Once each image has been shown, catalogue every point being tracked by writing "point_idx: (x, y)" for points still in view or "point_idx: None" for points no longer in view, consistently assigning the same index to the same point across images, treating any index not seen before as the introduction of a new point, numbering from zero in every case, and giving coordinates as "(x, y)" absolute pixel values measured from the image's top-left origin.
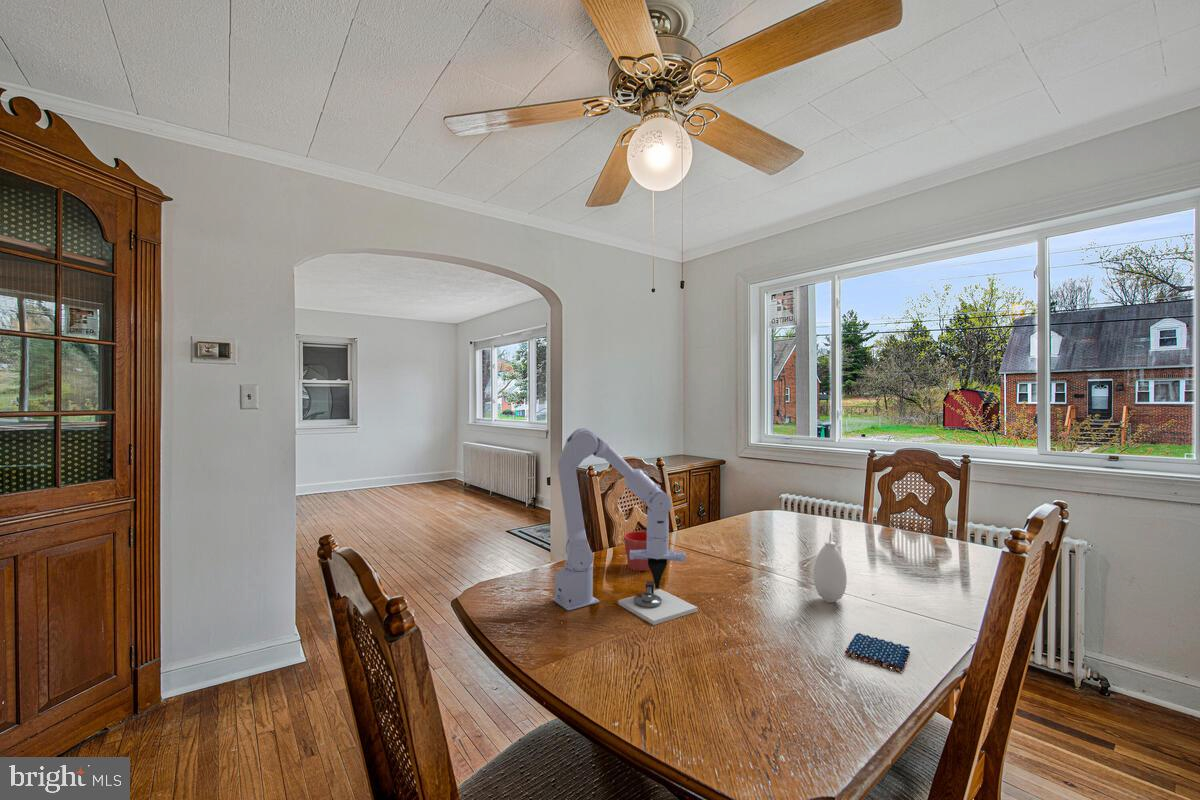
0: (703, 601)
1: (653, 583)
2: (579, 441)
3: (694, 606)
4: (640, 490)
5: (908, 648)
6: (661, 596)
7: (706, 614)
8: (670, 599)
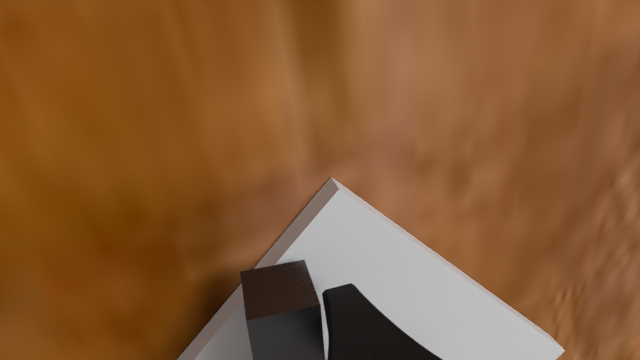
0: (602, 204)
1: (319, 354)
2: None
3: (550, 349)
4: None
5: None
6: None
7: (583, 343)
8: (425, 326)
